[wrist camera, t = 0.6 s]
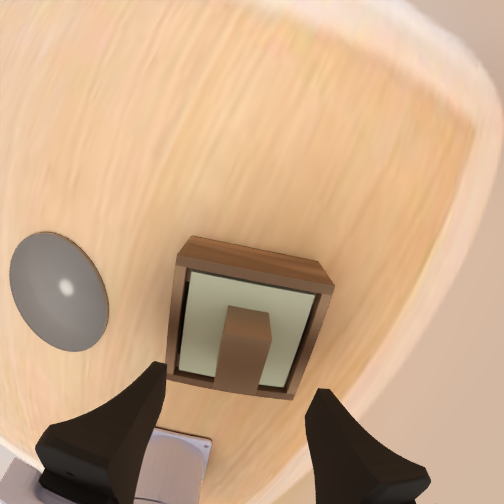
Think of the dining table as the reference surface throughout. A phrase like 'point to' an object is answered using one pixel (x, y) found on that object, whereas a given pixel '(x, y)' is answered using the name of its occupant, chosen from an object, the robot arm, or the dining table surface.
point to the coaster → (59, 292)
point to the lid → (242, 331)
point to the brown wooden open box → (255, 269)
